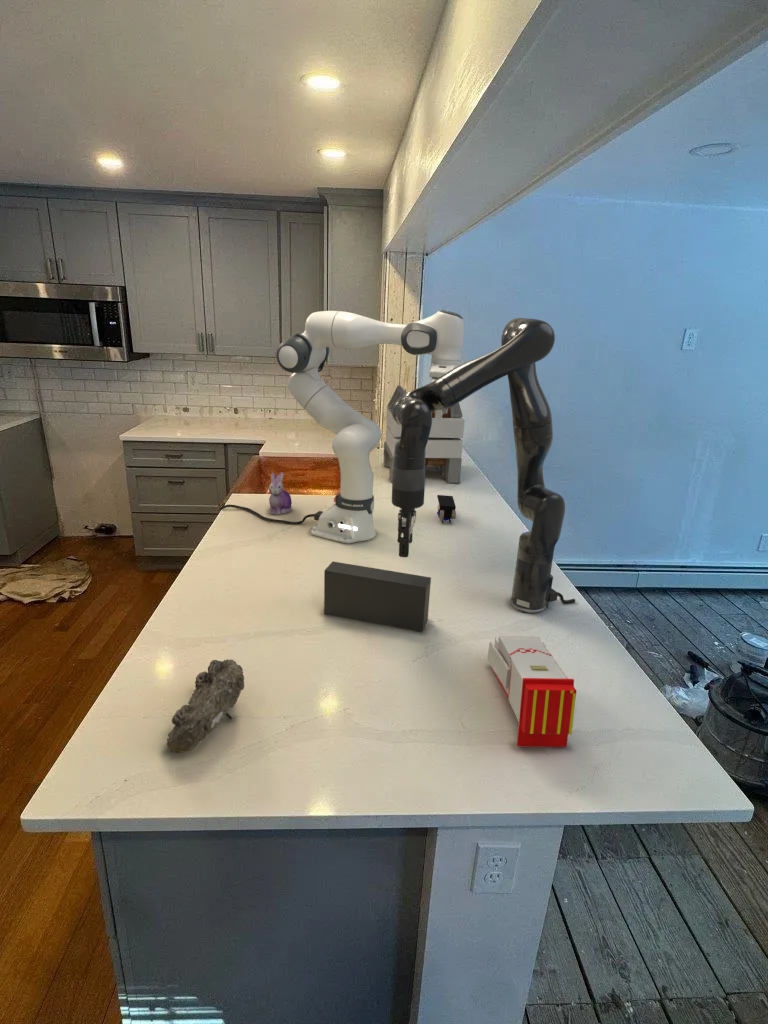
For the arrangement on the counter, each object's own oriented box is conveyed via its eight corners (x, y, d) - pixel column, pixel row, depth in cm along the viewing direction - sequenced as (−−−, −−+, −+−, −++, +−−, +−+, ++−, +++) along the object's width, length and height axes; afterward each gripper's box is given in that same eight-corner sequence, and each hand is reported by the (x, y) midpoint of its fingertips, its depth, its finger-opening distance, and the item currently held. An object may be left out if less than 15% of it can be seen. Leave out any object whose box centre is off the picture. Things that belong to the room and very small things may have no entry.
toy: (536, 619, 129) (586, 686, 99) (531, 673, 131) (578, 754, 102) (483, 618, 128) (517, 685, 99) (479, 672, 131) (511, 753, 102)
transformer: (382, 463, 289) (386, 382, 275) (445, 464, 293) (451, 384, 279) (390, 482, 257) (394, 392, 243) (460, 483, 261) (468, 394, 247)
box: (323, 613, 146) (324, 570, 142) (332, 603, 151) (332, 561, 147) (422, 632, 140) (426, 587, 135) (427, 621, 145) (431, 577, 141)
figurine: (272, 516, 210) (271, 477, 205) (264, 508, 219) (263, 470, 213) (296, 513, 214) (296, 475, 209) (287, 505, 223) (287, 468, 218)
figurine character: (456, 529, 210) (451, 511, 223) (458, 510, 207) (453, 493, 220) (438, 528, 210) (434, 510, 223) (440, 510, 206) (436, 493, 220)
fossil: (192, 660, 117) (244, 628, 112) (224, 691, 120) (276, 661, 115) (142, 746, 98) (202, 712, 93) (182, 779, 101) (242, 748, 96)
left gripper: (441, 365, 177) (437, 409, 182) (428, 371, 159) (424, 420, 163) (461, 367, 176) (456, 411, 181) (450, 373, 157) (446, 422, 162)
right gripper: (422, 495, 123) (418, 563, 129) (427, 477, 136) (423, 539, 142) (388, 493, 124) (385, 560, 130) (396, 475, 137) (393, 536, 143)
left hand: (441, 416), depth 172 cm, fingers open, 8 cm apart
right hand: (405, 549), depth 136 cm, fingers open, 8 cm apart
